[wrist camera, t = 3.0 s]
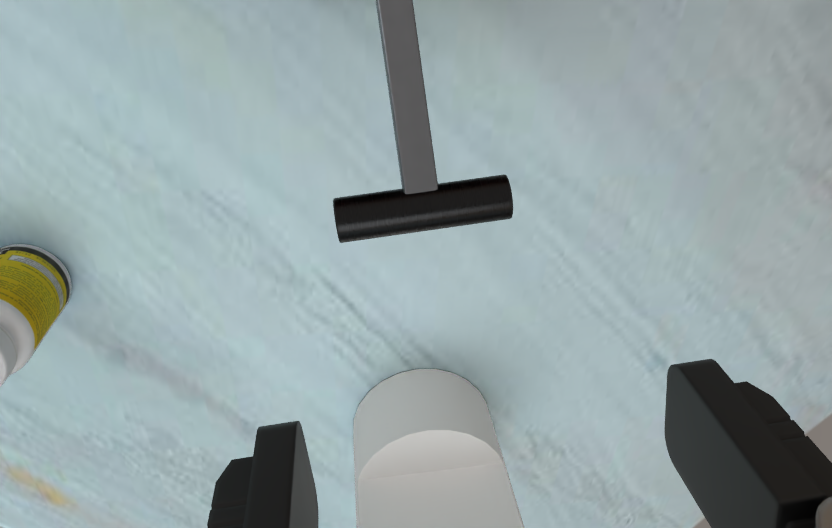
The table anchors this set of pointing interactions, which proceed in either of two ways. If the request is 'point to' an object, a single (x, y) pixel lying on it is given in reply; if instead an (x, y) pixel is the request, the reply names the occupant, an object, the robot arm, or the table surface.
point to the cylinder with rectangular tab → (429, 456)
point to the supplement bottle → (28, 302)
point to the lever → (415, 155)
